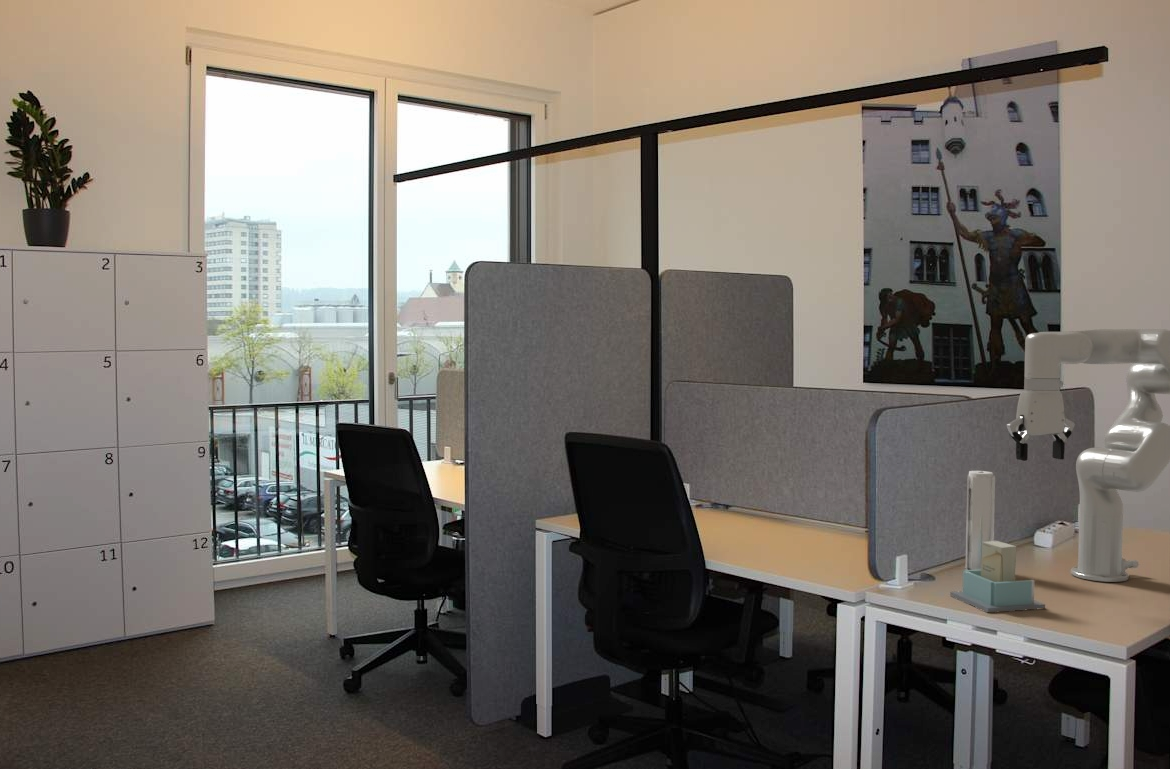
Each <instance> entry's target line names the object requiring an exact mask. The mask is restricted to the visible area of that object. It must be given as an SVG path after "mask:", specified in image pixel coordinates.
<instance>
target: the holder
mask: <svg viewBox="0 0 1170 769" xmlns="http://www.w3.org/2000/svg"><path fill="white" fill-rule="evenodd" d="M1035 582H1036V581H1035V580H1034V579H1026V580H1023V579H1022V580H1015V581H1006V582H993V581H991V580H988V579H986V578H983V577H981V569H977V570H966V569H963V571H962V590H958V591H957V590H955V591H954V590H953V591H950V593H949V594H950V597H951V596H952V598H954V597H955V598H954V599H956V598H957V599H956V600H958V599H959V600H958V601H960V600H961V601H960V602H962V601H964V602H963V603H965V602H966V603H965V604H967V603H968V604H967V605H969V604H971V605H973V606H972V607H974V606H975V607H974V608H976V607H977V608H976V609H978V608H979V609H978V610H980V609H982V610H984V611H983V612H985V611H986V612H985V613H987V612H995V613H998V612H997V611H1009V612H1016V611H1015V610H1023V611H1026V610H1025V609H1037V608H1045V609H1046V604H1045V603H1043V602H1041V601H1039V600H1035ZM971 605H970V606H971ZM982 610H981V611H982ZM1037 610H1038V609H1037Z"/></svg>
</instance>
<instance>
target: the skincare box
mask: <svg viewBox="0 0 1170 769" xmlns="http://www.w3.org/2000/svg"><path fill="white" fill-rule="evenodd" d="M1016 563H1017V546H1016V545H1013V544H1010V543H1007V542H1002V541H1000V540H994V541H986V542H983V543H982V563H981V577H983V578H986V579H988V580H991V581H993V582H1006V581H1016V565H1017V564H1016Z"/></svg>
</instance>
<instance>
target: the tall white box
mask: <svg viewBox="0 0 1170 769" xmlns="http://www.w3.org/2000/svg"><path fill="white" fill-rule="evenodd" d="M966 480H967V482H966V484H967V485H966V523H965V524H966V526H965V527H966V529H965V568H966V569H965V570H977V569H981V563H982V543H983V542H986V541H995V508H996V507H995V503H996V500H995V498H996V496H995V495H996V494H995V493H996V475H994V473H993V472H992V471H985V470H969V471H968V474H967V477H966Z"/></svg>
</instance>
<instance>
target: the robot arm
mask: <svg viewBox="0 0 1170 769" xmlns="http://www.w3.org/2000/svg"><path fill="white" fill-rule="evenodd" d="M1024 345H1025V346H1024V380H1023V381H1024V382H1023V383H1024V386H1023V389H1024V390H1023V391H1020V394H1019V398H1018V401H1017V407H1016V415H1015V417H1016V418H1015V419H1013V420H1012V421H1010V422H1008V423H1007V424H1006V428H1007V430H1008V433H1009V436H1010V438H1012V439H1013V442H1014V443H1015V456H1016V457H1015V459H1016V460H1018V461H1023V462H1024V461H1027V460H1028V457H1029V456H1028V452H1029V450H1028V448H1029V445H1028V443H1027V441H1028V439H1030V438H1031V436H1050V435H1051V436H1052V437H1053V439H1054V440H1053V442H1052V458H1053V459H1055V460H1057V459H1058V460H1064V459H1065V443H1067V442H1068V439H1069V438H1070V437H1071V435H1072V432H1073V430H1074V428H1075V426H1076V424H1075V422H1073V421H1072V420H1070V419H1069V418H1067V417H1066V416H1065V405H1064V404H1065V403H1064V398H1063V393H1062V392H1061V389H1060V388H1061V387H1063V386H1064V382H1063V381H1062V380H1061V379H1060V378H1061V365H1064V364H1065V365H1078V364H1085V365H1119V364H1120V365H1123V364H1124V365H1125V364H1126V365H1127V364H1130V366H1129V367H1128V369H1127V372H1126V374H1125V375H1126V378H1125V379H1126V381H1125V382H1126V389H1127V390H1126V392H1127V403H1126V406H1125V408H1124V409H1123V411H1121V413H1120V414H1119V416H1118V417H1117V418H1116V419H1115V421H1113V423H1112V425H1111V426H1110V427H1109V429H1108V430H1107V431H1106V432H1105V435H1104V438H1103V446H1104V447H1089V448H1087V449H1084V450H1083V451H1081V452H1080V454H1078V456H1077V458H1076V462H1075V463H1076V464H1075V471H1076V477H1077V481H1078V482H1077V483H1078V488H1079V490H1078V491H1079V513H1078V514H1079V515H1078V516H1079V517H1078V518H1079V519H1078V520H1079V521H1078V550H1077V552H1078V554H1077V556H1078V557H1077V566H1073V567H1071V569H1070V574H1071V575H1072V576H1074V577H1077V578H1078V579H1083V580H1088V581H1095V582H1105V583H1119V582H1126V581H1128V580H1129V576H1130V575H1129V573H1128V572H1127V571H1126V570H1128V569H1137V568H1138V567H1139V565H1140V564H1139V561H1138V560H1137V559H1130V560H1126V558H1123V537H1124V536H1123V530H1124V527H1123V526H1124V505H1123V504H1124V503H1123V500H1122V498H1121V496H1120V493H1118V490H1119V491H1120V490H1121V491H1126V492H1132V493H1133V492H1134V493H1141V492H1144V491H1147V490H1148V489H1149V488H1150V487H1151V486H1152V485H1153V484H1154V482H1155V481H1156V480H1157V479H1158V478H1159V476H1160V475H1161V473H1163V471H1164V470H1165V468H1166V467H1167V466H1168V464H1169V463H1170V424H1168V423H1165V422H1162V420H1163V419H1164V418H1163V416H1164V415H1163V410H1162V408H1161V406H1160V404H1159V402H1158V401H1157V398H1156V394H1158V395H1159V394H1160V395H1161V394H1162V395H1170V330H1168V329H1165V328H1120V329H1119V328H1115V329H1114V328H1110V329H1108V328H1107V329H1106V328H1104V329H1102V328H1101V329H1088V330H1087V329H1085V330H1075V331H1073V330H1072V331H1040V332H1032V333H1029V334H1027V335H1026V337H1025V342H1024Z"/></svg>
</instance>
